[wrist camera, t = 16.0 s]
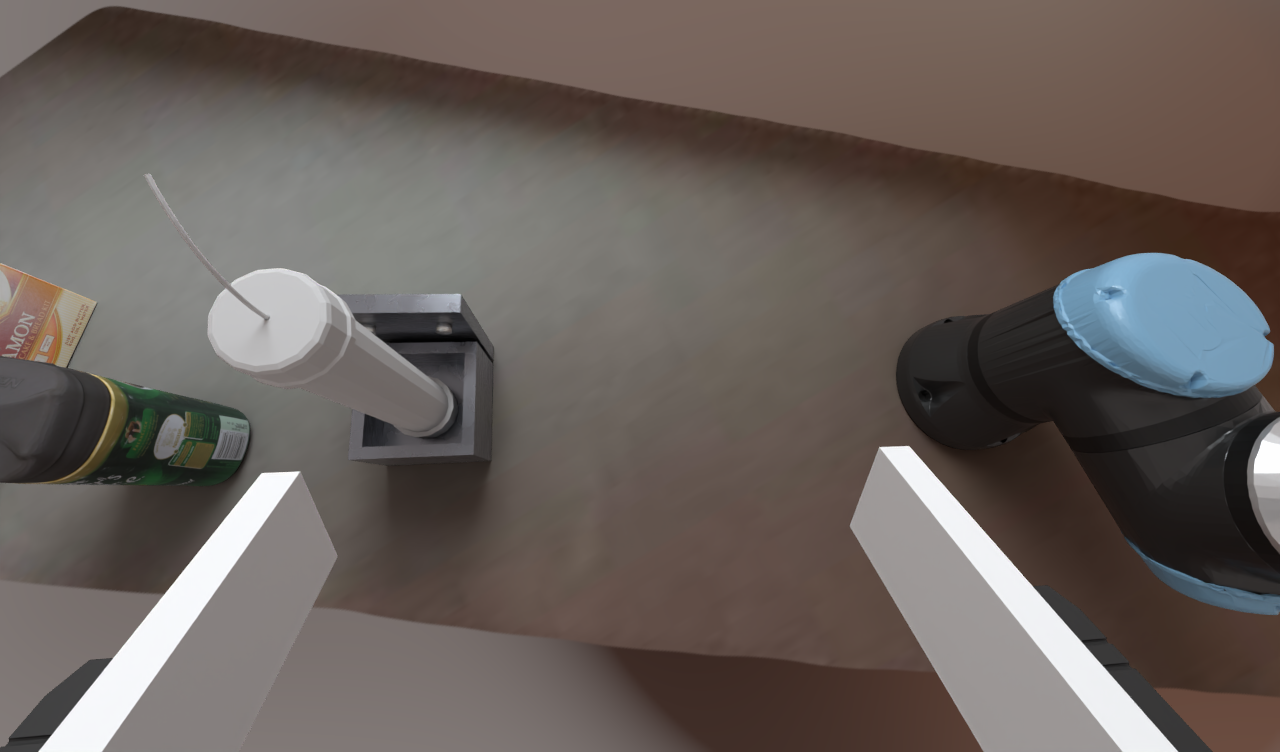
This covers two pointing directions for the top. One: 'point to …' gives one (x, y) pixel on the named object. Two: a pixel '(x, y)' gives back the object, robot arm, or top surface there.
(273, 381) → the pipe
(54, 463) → the coffee jar
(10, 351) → the coffeecake box
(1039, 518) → the top surface
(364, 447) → the grey open box
